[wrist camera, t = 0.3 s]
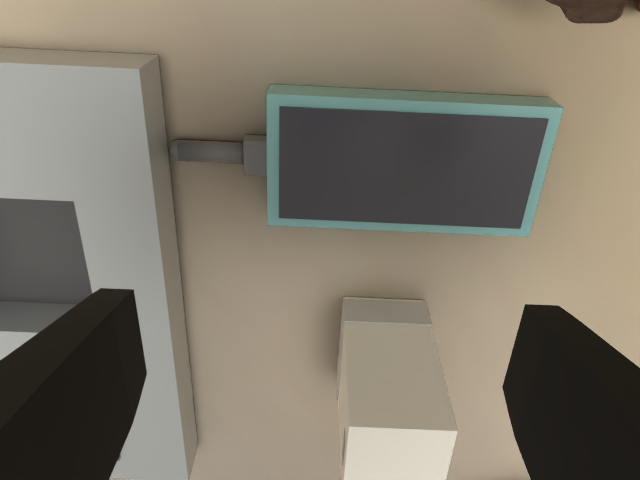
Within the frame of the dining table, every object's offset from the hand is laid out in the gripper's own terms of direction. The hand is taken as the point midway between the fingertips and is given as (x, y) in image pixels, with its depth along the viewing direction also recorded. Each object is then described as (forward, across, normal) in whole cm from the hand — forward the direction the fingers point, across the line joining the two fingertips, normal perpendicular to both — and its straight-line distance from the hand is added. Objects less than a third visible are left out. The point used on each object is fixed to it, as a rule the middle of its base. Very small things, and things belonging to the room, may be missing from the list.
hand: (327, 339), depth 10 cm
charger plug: (+10, -2, +8) cm, 13 cm away
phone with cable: (+10, -1, 0) cm, 10 cm away
